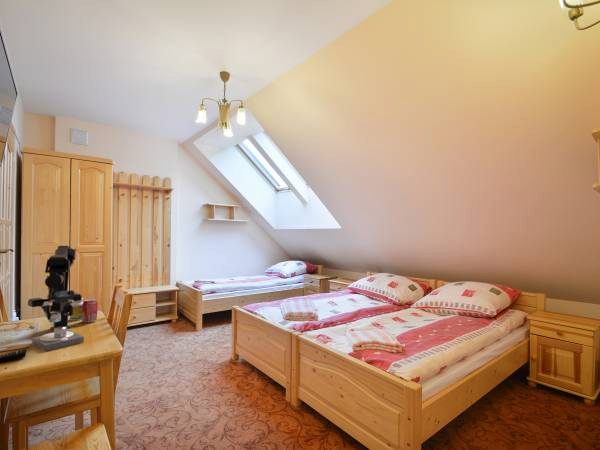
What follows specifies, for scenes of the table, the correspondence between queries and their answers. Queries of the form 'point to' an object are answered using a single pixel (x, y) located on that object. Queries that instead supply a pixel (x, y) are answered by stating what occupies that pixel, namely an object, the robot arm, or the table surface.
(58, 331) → the cylinder
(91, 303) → the soda can
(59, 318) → the cylinder
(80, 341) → the scale
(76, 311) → the pill bottle
